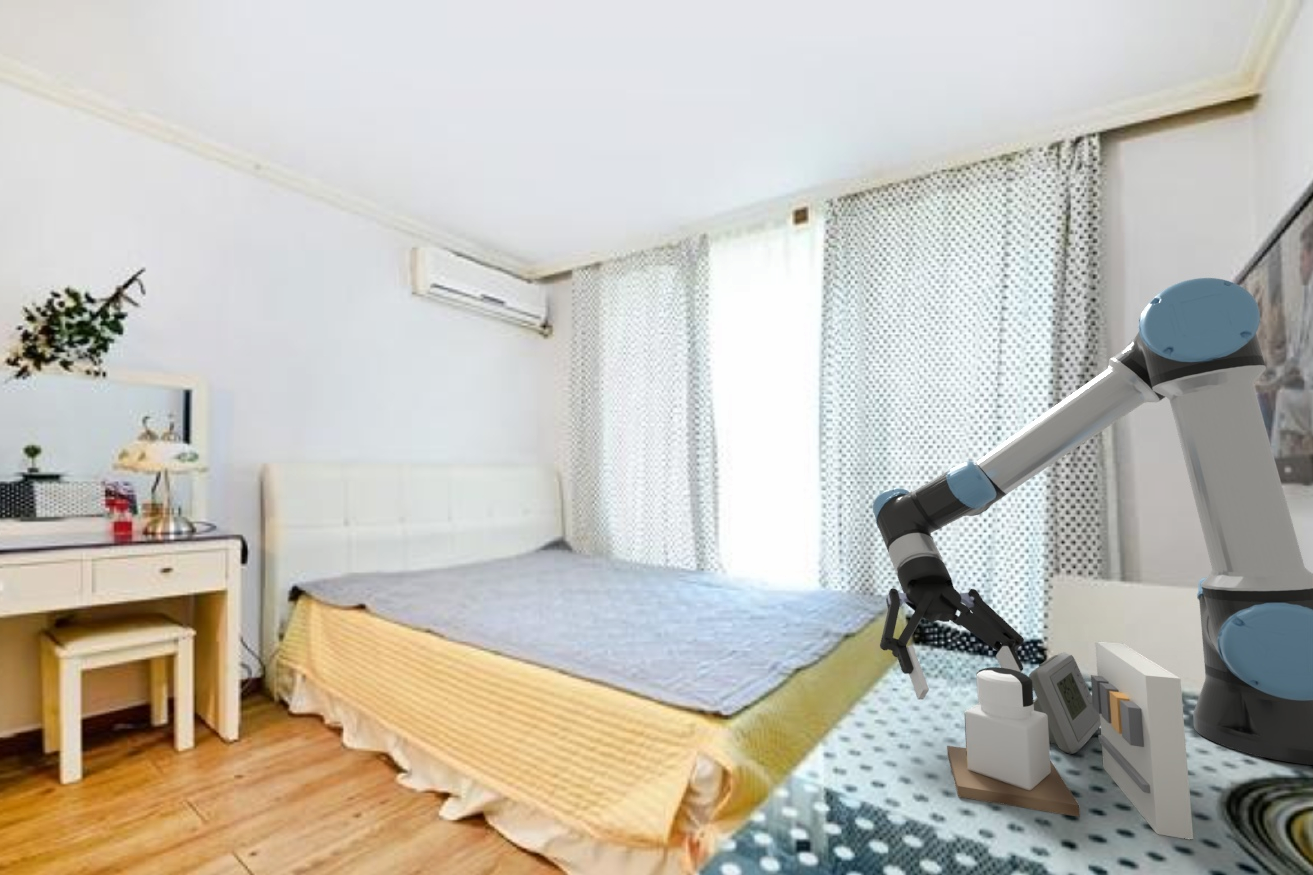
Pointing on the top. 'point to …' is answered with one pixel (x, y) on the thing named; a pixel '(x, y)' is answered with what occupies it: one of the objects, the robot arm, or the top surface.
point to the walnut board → (1011, 788)
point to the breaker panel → (1143, 736)
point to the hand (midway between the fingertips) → (973, 695)
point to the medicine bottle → (1007, 730)
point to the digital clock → (1065, 702)
